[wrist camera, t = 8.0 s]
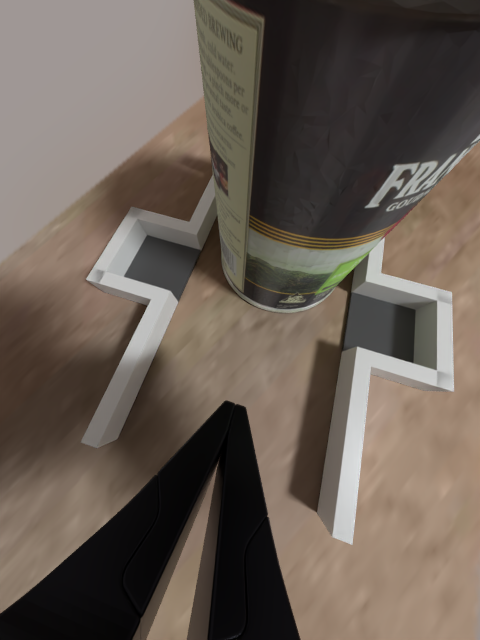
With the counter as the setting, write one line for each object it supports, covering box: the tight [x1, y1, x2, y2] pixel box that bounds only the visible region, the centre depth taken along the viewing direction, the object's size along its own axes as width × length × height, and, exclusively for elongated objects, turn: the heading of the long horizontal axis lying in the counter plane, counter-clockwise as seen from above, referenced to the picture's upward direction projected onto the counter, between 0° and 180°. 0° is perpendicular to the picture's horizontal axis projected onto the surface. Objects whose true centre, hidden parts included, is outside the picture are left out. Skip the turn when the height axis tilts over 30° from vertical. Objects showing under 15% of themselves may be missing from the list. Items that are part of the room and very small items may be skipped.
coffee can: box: [194, 0, 480, 313], centre depth 11 cm, size 10×10×14 cm
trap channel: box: [81, 175, 454, 544], centre depth 14 cm, size 24×25×5 cm
